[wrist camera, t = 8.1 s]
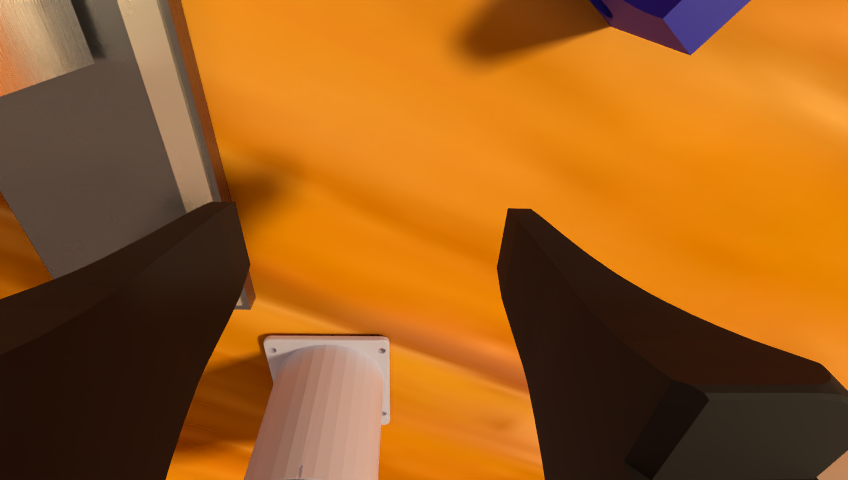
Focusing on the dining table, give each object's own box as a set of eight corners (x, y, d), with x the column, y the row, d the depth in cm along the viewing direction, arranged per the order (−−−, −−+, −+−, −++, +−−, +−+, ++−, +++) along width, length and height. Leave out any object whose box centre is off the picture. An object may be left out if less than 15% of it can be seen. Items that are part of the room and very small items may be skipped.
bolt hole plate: (255, 297, 25) (249, 312, 24) (82, 295, 24) (68, 310, 23) (159, -82, 15) (141, -85, 14) (-143, -99, 14) (-184, -102, 13)
